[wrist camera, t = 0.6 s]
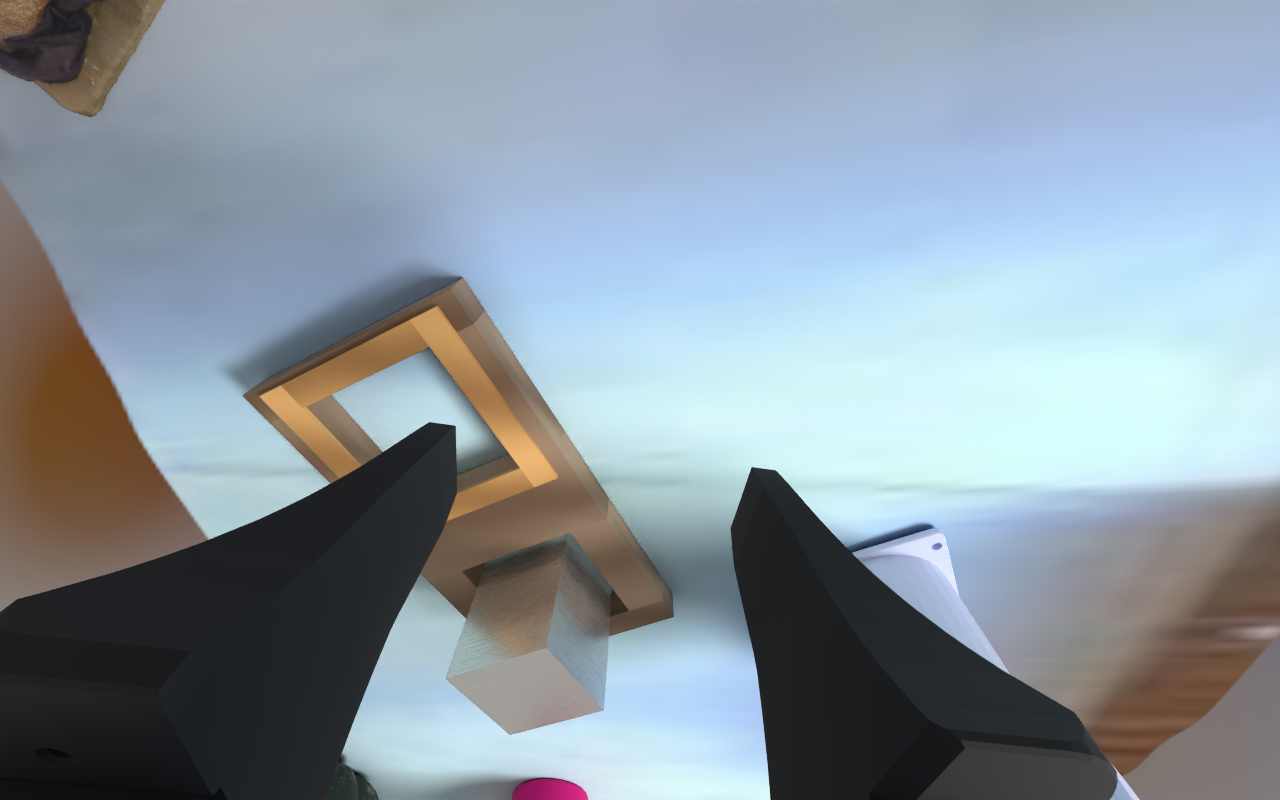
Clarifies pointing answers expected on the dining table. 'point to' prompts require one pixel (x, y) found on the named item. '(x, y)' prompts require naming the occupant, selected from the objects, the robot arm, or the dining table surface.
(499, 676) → the light grey block
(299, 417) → the wooden board with holes
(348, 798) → the squash
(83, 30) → the bread roll
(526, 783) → the pepper mill
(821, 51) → the dining table surface
